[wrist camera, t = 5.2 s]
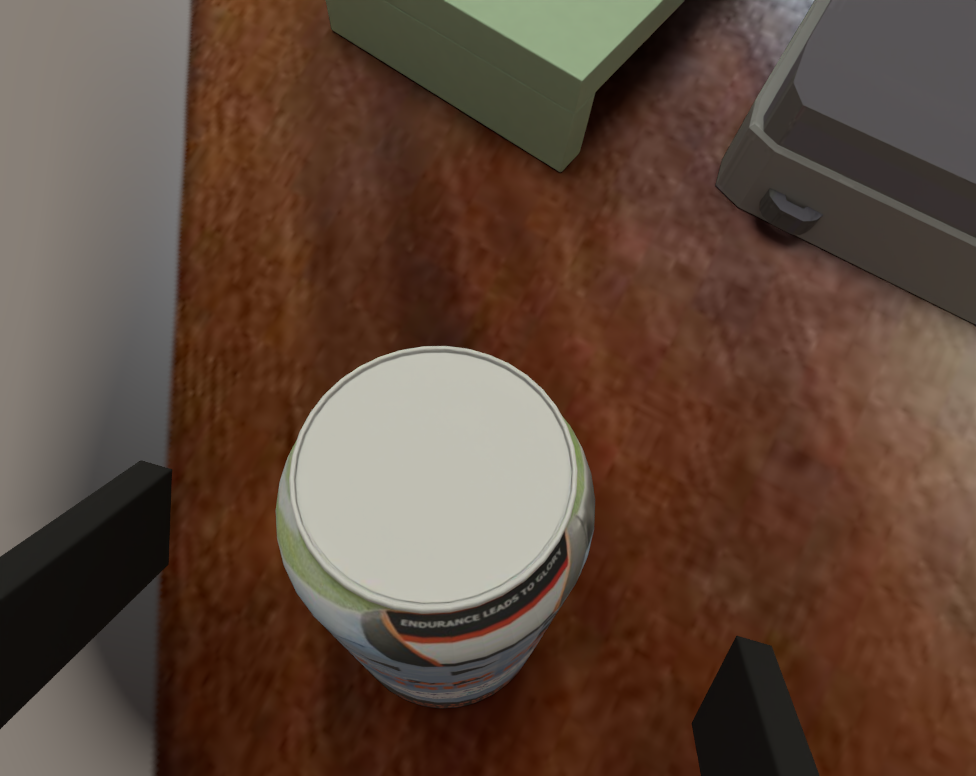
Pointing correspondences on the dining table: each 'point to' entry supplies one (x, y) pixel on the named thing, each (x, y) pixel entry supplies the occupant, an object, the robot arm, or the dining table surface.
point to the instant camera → (872, 143)
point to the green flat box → (508, 57)
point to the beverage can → (436, 520)
